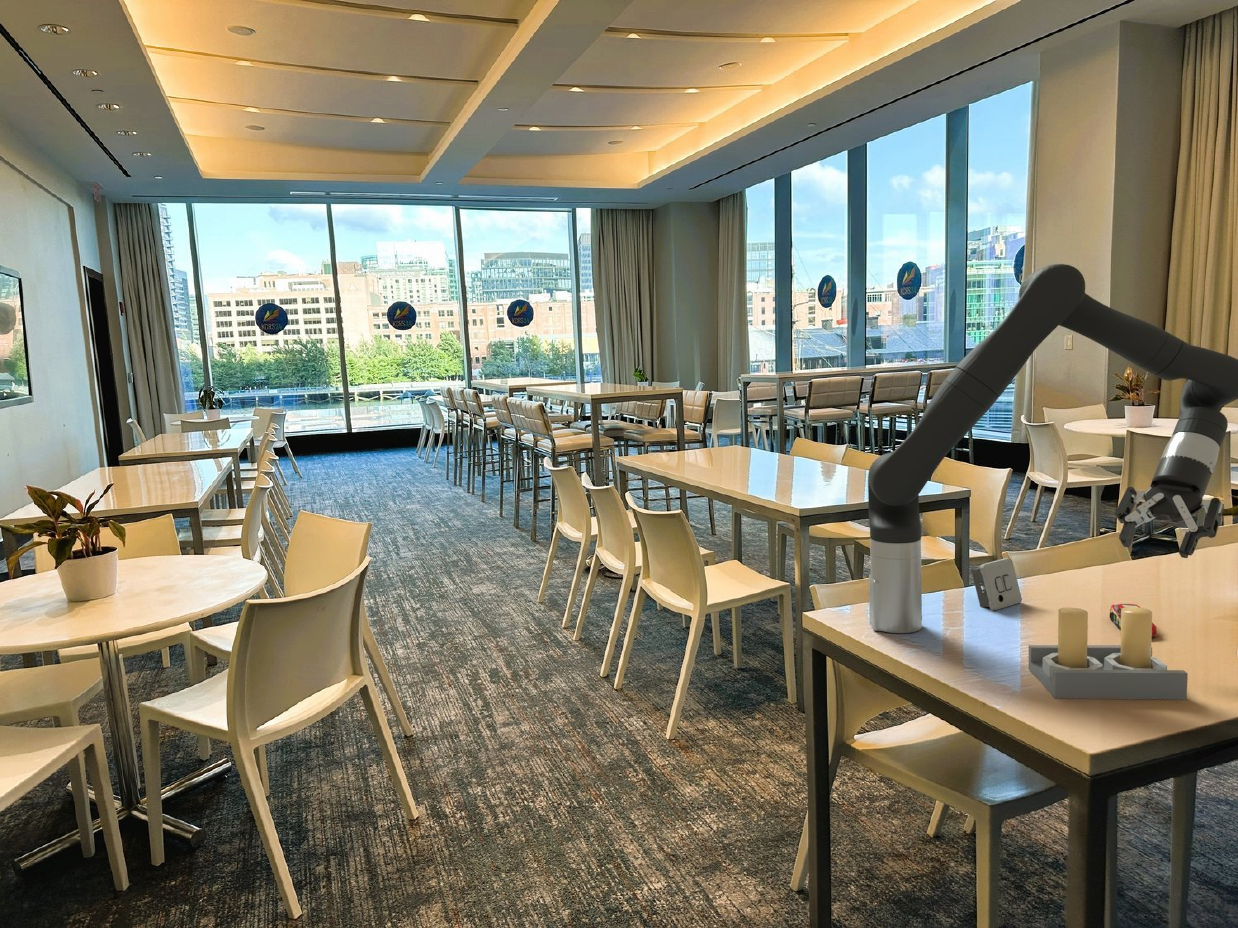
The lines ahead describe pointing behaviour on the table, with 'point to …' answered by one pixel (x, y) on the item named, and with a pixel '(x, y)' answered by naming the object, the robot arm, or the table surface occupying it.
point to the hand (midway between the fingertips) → (1153, 550)
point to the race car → (1116, 616)
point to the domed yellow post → (1136, 637)
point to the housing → (1098, 667)
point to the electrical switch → (997, 584)
